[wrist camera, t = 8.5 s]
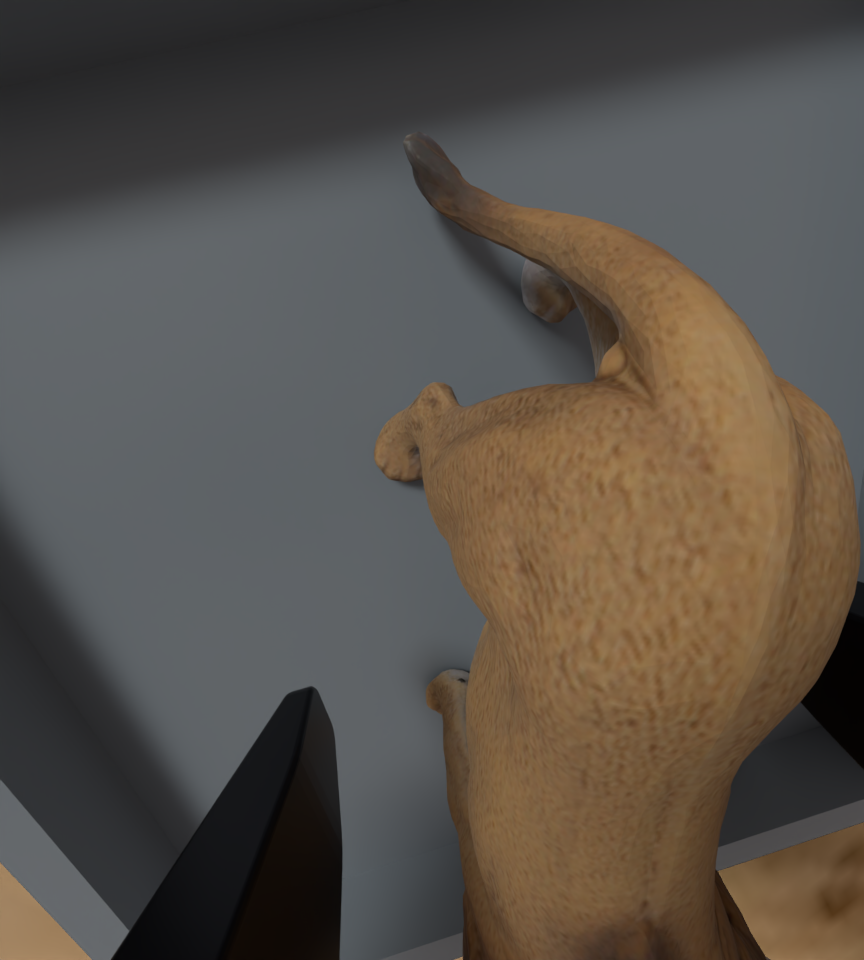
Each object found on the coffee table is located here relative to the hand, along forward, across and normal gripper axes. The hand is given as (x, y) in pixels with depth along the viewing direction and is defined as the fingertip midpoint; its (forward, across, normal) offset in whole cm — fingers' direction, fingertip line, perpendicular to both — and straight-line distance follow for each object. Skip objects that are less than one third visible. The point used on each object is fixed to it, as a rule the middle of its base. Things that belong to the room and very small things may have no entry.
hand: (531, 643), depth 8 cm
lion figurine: (+3, -1, 0) cm, 3 cm away
